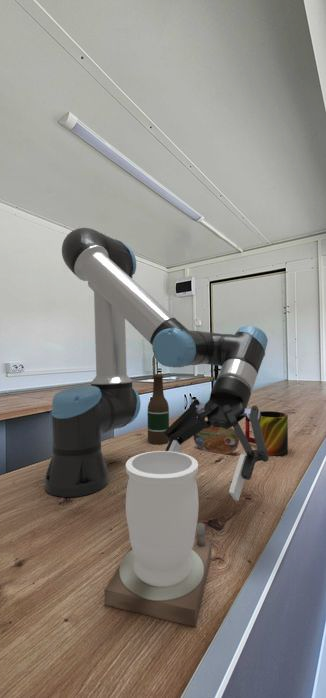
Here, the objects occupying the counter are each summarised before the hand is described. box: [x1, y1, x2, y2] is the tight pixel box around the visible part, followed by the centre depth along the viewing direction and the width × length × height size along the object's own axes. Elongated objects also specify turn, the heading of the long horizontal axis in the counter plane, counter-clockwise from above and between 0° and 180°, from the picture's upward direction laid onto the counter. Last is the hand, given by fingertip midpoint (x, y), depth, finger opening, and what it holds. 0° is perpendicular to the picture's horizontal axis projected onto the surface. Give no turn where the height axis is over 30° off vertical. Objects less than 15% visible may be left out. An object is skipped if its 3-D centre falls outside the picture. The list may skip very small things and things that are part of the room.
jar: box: [125, 450, 200, 587], centre depth 46 cm, size 11×10×15 cm
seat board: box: [103, 522, 212, 628], centre depth 47 cm, size 12×14×5 cm
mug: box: [244, 410, 289, 458], centre depth 103 cm, size 10×14×12 cm
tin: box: [193, 425, 240, 455], centre depth 103 cm, size 15×3×8 cm, turn 56°
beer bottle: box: [147, 373, 170, 445], centre depth 114 cm, size 8×8×24 cm
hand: (195, 485), depth 54 cm, fingers open, 13 cm apart
